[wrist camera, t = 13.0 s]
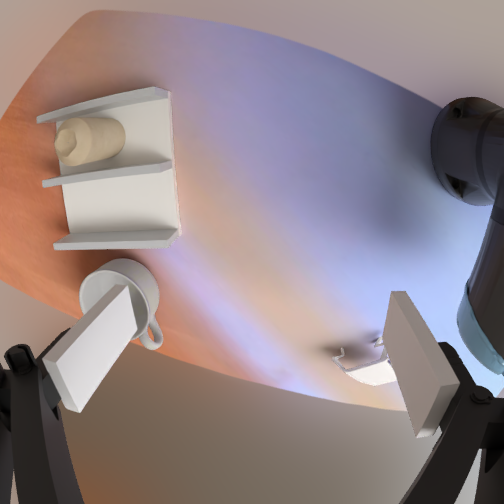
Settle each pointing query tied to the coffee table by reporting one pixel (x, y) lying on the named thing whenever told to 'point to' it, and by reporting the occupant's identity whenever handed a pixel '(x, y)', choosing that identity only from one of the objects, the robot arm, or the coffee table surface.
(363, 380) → the origami figure
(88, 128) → the candle
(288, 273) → the coffee table surface
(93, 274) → the teacup
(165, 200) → the slot rack
